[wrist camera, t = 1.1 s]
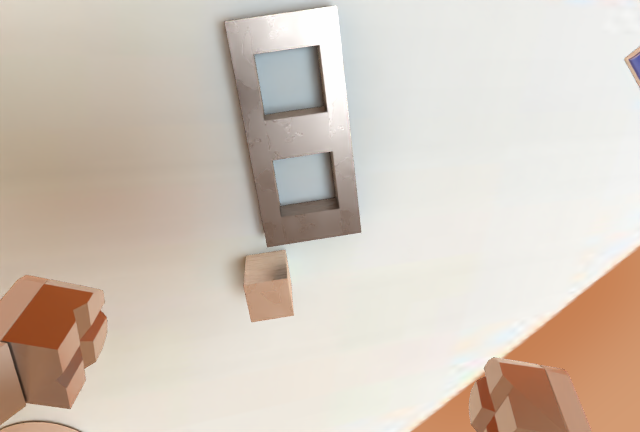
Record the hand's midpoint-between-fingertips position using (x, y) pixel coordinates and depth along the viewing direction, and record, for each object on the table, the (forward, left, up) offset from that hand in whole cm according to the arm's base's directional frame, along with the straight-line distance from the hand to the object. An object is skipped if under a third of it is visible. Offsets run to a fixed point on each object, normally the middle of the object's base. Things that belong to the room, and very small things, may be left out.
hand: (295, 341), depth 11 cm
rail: (-4, -1, -37) cm, 37 cm away
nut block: (-18, +4, -37) cm, 41 cm away
